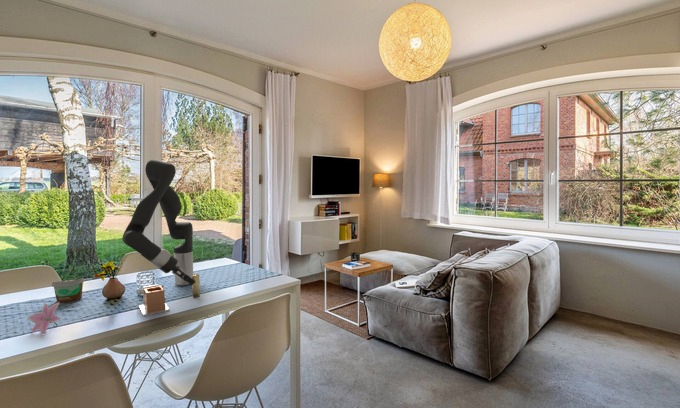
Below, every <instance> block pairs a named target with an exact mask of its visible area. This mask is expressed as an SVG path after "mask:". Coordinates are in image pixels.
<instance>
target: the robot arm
mask: <svg viewBox="0 0 680 408" xmlns="http://www.w3.org/2000/svg"><path fill="white" fill-rule="evenodd" d="M144 172H145V175H146V177H147V179H148V181H149V184H150V185H151V187H152V188H153V190H152V191H151V192H150V193H148V195H146V196H145V197H144V198H142V199H141V200H140V201H139V202H138V204H137V205H136V207H135V210H134V213H133V215H132V216H131V220H130V222H129V223H128V225H127V227H126V228H125V230H124V232H123V233H122V243H123V244H124V245H126V246H128V247H129V248H131V249H133V250H134V251H135V252H137V253H139V254H140V256H142V257H143V258H144V259H146V260H147V261H148V262H150V263H151V264H152V265H153V266H155V267H156V268H157V269H159V270H160V271H162V272H163V273H165V274H168V273H170V272H171V273H172V274H173V275H174V284H175V285H176V286H187V285H191V286H192V285H193V284H194V283H195V281H194V280H193V279H192V275H193V274H194V255H193V253H194V252H193V245H194V244H193V242H194V241H193V236H194V235H193V232H194V231H193V230H194V229H193V224H192V223H191V222H189V221H181V222H178V221H176V220H177V217H178V216H179V215H180V214H181V211H182V208H183V205H182V202H181V198H180V196H179V194H178V193H177V192H176V191H175V190H174V189H173V187H171V186H170V185H171V184H172V182H173V181H174V178H175V176H176V166H175V165H174V164H172V163H169V162H166V161H163V160H162V161H161V160H159V159H151V160H148V161H147V163H146V164H145V171H144ZM158 204H159V206H160V208H161V210H162V212H163V215H164V219H165V220H166V224H167V228H168V232H169V236H170V238H171V239H173V240H175V241H176V240H179V241H180V240H184V242H183V243H181V244H179V245H176V246H174V248H173V255H171V254H170V253H169V252H167V251H166V250H164V249H162V247H160V246H158V245H157V244H156V243H154V242H152V241H151V240H150V239H149V238H148V237H147V236H145V234H143V233H144V231H145V229H146V227H148V226H149V224H150V222H151V219H152V218H153V215H154V212H155V210H156V208H157V206H158Z"/></svg>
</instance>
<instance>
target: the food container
mask: <svg viewBox="0 0 680 408" xmlns="http://www.w3.org/2000/svg"><path fill="white" fill-rule="evenodd" d="M84 282H85V279H84V277H81V278H78V279H68V280H67V279H66V280H61V281H54V280H53V281H52V282H51V286H52V287H53V289H54V293H55V294H54V295H55V300H56V303H58V302H60V303H59V304H68V303H74V302H77V301H80V300H81V299H83V287H84V286H83V285H84Z"/></svg>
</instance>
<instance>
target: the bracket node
mask: <svg viewBox="0 0 680 408" xmlns="http://www.w3.org/2000/svg"><path fill="white" fill-rule="evenodd" d="M137 295H138V296H142V295H143V304H140V305H138V309H139V311H140V313H141V315H142V317H143V316H144V317H148V316H152V315H151V314H153V315H156V314H155V313H158V314H161V312H162V313H166V311H167V312H170V311H171V310H170V309H171V308H170V307H169V306H168V304H167V303H166V295H165V287H164V285H159V284H158V283H157V284H152V285H147V286H146V285H145V286H143V287H142V288H139V289H137ZM147 315H148V316H147Z"/></svg>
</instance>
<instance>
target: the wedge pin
mask: <svg viewBox="0 0 680 408" xmlns="http://www.w3.org/2000/svg"><path fill="white" fill-rule="evenodd" d="M192 279H193V280H194V281H195V283H194V284H193V285H191V286H192V299H200V297H201V289H200V286H201V284H200V273H193V275H192Z"/></svg>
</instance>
